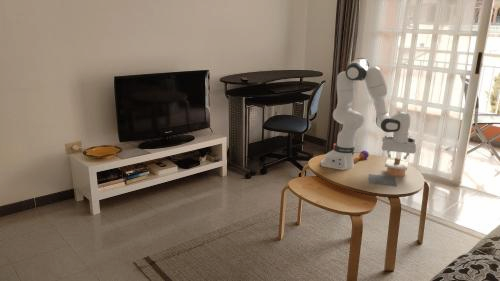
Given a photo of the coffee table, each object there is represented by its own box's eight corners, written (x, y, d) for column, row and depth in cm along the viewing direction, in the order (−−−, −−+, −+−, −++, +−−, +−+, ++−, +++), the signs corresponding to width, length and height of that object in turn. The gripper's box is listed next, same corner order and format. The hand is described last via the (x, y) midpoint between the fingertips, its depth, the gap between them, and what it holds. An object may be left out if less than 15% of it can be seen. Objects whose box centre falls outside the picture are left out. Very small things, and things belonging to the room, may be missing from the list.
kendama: (347, 157, 265) (362, 149, 279) (348, 165, 266) (362, 157, 280) (355, 158, 261) (369, 149, 275) (356, 166, 262) (370, 157, 276)
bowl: (387, 175, 244) (388, 166, 242) (386, 169, 254) (387, 161, 252) (405, 177, 241) (406, 168, 240) (403, 171, 251) (404, 163, 250)
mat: (368, 183, 231) (368, 183, 231) (368, 174, 245) (368, 173, 245) (397, 187, 227) (397, 186, 227) (394, 177, 241) (394, 176, 241)
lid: (384, 166, 242) (385, 160, 241) (387, 160, 254) (388, 154, 252) (406, 170, 237) (407, 163, 236) (408, 163, 249) (409, 157, 247)
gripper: (383, 136, 241) (380, 157, 245) (418, 140, 236) (414, 161, 240) (382, 134, 247) (379, 154, 250) (416, 137, 242) (413, 158, 246)
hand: (397, 158), depth 245 cm, fingers open, 8 cm apart
